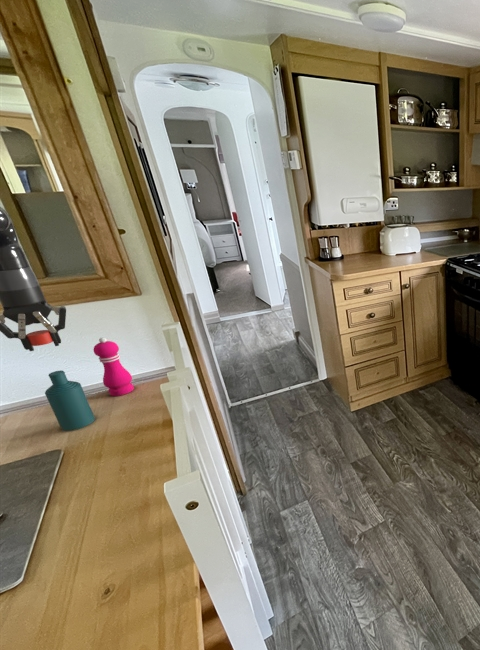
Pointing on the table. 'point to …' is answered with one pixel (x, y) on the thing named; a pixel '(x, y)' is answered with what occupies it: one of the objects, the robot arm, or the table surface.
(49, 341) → the cap
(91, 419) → the bottle
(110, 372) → the pepper mill
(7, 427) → the table surface
